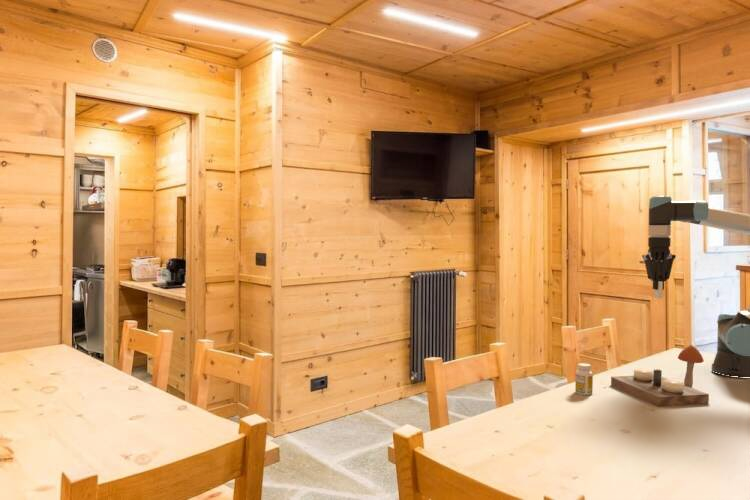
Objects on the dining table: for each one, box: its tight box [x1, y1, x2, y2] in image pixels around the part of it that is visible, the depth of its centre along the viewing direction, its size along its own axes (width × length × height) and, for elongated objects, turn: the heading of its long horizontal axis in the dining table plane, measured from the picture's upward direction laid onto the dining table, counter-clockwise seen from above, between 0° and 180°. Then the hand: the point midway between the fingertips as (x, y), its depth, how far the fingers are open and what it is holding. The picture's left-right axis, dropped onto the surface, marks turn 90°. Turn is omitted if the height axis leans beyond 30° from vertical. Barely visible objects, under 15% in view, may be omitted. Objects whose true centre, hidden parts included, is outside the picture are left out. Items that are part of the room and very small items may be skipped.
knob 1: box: [633, 368, 654, 382], centre depth 186 cm, size 6×6×6 cm
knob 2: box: [662, 379, 684, 394], centre depth 172 cm, size 6×6×6 cm
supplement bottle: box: [575, 362, 594, 396], centre depth 180 cm, size 5×5×10 cm
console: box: [610, 375, 710, 408], centre depth 179 cm, size 18×24×3 cm
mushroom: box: [677, 344, 705, 388], centre depth 187 cm, size 8×8×15 cm
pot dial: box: [653, 368, 662, 386], centre depth 179 cm, size 2×2×5 cm
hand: (658, 297), depth 204 cm, fingers closed
